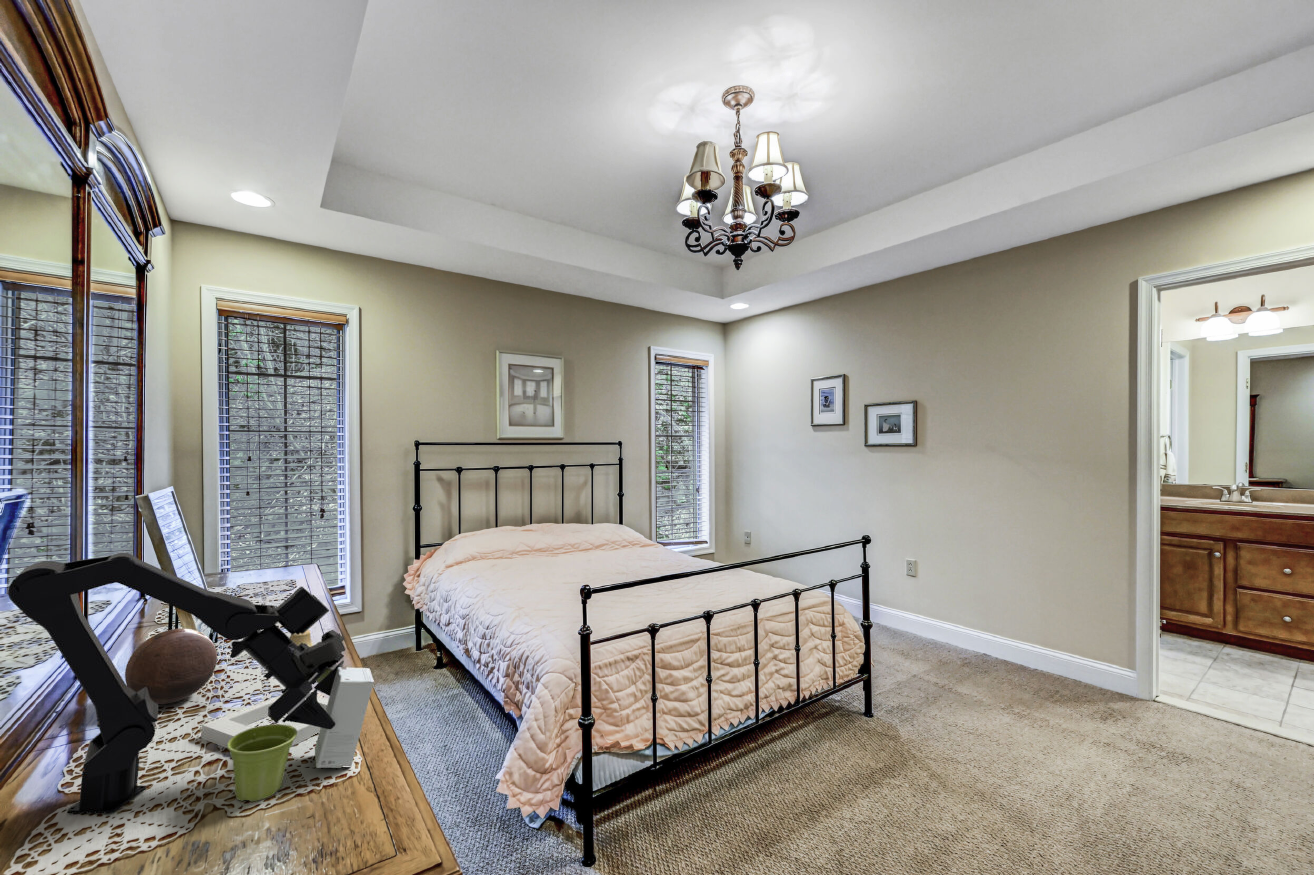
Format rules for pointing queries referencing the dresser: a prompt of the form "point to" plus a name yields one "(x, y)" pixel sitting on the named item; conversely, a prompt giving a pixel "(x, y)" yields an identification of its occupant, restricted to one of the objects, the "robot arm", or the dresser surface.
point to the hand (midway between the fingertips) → (342, 714)
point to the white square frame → (236, 722)
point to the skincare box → (344, 717)
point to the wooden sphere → (172, 665)
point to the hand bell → (302, 638)
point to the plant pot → (260, 760)
